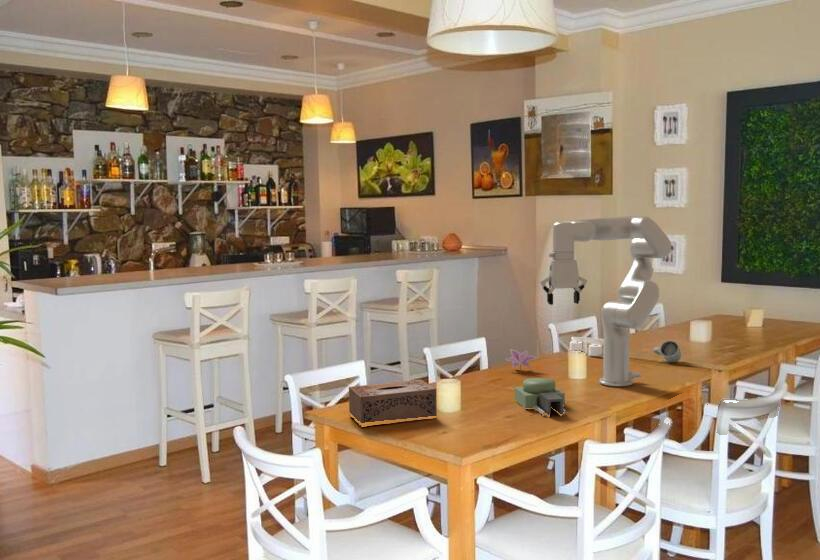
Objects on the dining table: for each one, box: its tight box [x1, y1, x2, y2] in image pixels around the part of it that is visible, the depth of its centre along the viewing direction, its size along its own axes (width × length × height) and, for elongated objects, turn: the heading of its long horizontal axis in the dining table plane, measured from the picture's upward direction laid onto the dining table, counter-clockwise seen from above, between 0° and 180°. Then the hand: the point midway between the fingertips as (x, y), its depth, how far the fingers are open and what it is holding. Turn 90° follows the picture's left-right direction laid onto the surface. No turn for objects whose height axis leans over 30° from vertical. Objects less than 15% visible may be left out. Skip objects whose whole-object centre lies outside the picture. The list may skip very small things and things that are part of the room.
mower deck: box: [514, 377, 567, 414], centre depth 259 cm, size 14×21×8 cm, turn 9°
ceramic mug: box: [653, 340, 682, 364], centre depth 326 cm, size 11×8×8 cm
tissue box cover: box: [348, 379, 437, 423], centre depth 252 cm, size 26×14×10 cm, turn 110°
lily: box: [505, 348, 538, 374], centre depth 315 cm, size 12×12×10 cm
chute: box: [539, 392, 564, 415], centre depth 252 cm, size 5×9×6 cm, turn 9°
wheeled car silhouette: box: [569, 336, 604, 358], centre depth 345 cm, size 20×11×7 cm, turn 37°
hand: (563, 303), depth 273 cm, fingers open, 9 cm apart
